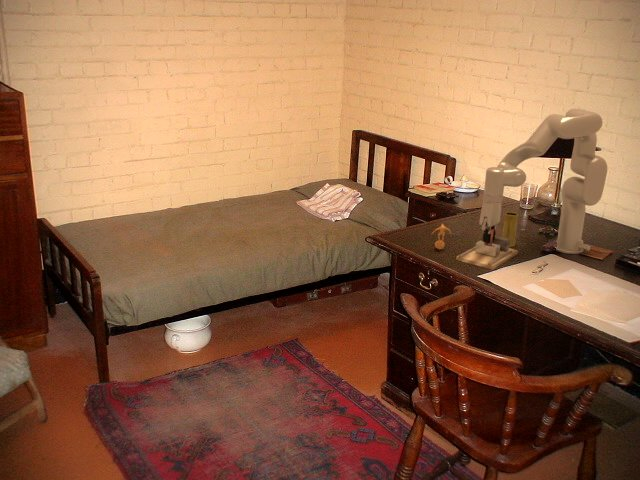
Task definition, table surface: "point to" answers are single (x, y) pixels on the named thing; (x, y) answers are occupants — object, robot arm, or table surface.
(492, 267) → the nutcracker base
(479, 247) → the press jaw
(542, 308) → the table surface
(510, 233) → the vase
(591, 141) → the robot arm
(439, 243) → the figurine
